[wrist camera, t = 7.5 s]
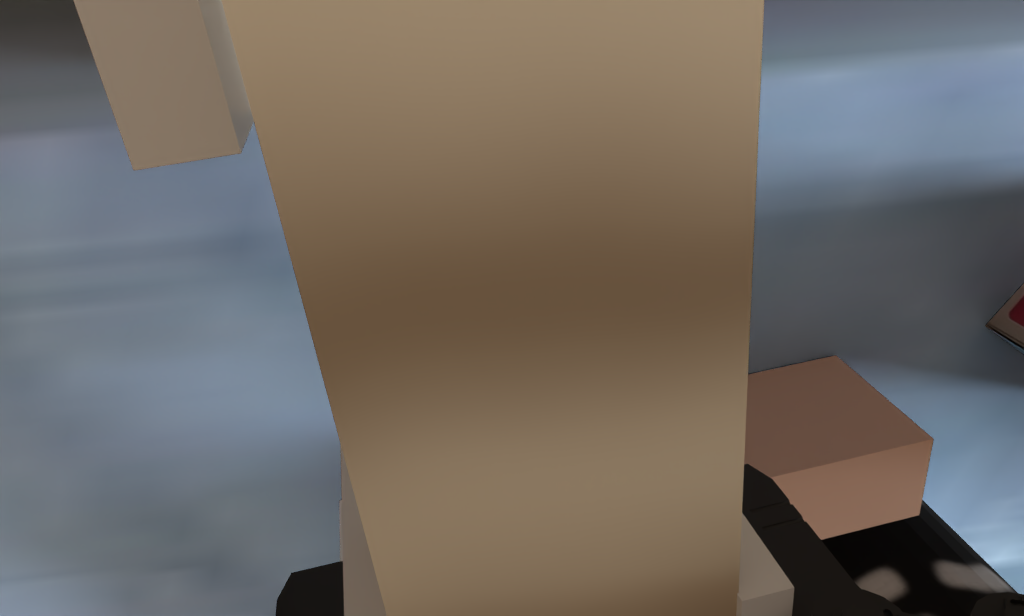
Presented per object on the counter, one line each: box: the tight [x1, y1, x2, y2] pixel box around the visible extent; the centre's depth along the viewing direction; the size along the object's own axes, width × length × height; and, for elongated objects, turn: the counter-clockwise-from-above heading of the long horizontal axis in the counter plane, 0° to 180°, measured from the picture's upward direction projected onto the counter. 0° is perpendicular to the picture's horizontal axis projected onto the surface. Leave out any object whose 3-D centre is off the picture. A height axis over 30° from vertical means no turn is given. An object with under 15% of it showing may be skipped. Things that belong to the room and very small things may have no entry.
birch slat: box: [221, 0, 764, 616], centre depth 12 cm, size 20×4×3 cm, turn 6°
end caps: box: [73, 0, 343, 561], centre depth 19 cm, size 27×10×9 cm, turn 6°
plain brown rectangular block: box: [744, 355, 933, 540], centre depth 21 cm, size 21×6×5 cm, turn 6°
